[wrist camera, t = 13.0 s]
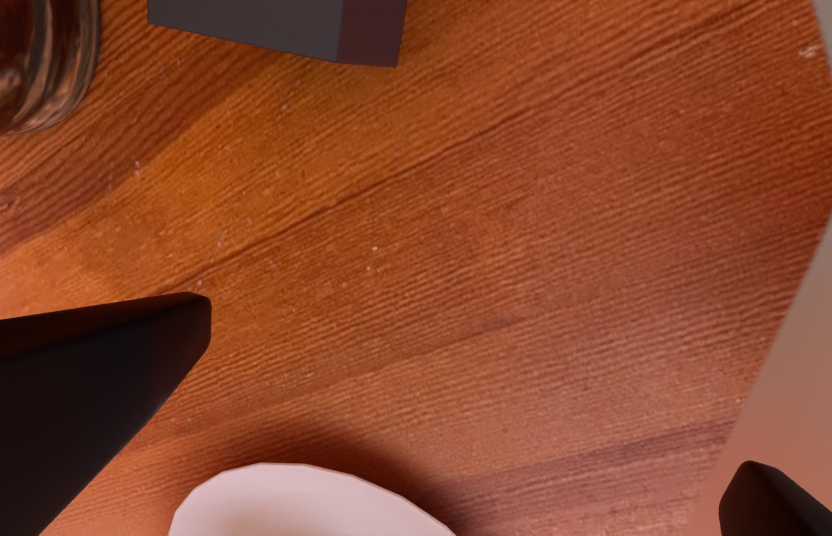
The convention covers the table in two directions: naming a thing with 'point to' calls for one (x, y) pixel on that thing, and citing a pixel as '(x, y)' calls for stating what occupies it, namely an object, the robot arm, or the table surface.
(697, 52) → the table surface
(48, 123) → the jar
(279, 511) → the plate
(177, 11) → the base block
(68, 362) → the robot arm
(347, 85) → the table surface
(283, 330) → the table surface
